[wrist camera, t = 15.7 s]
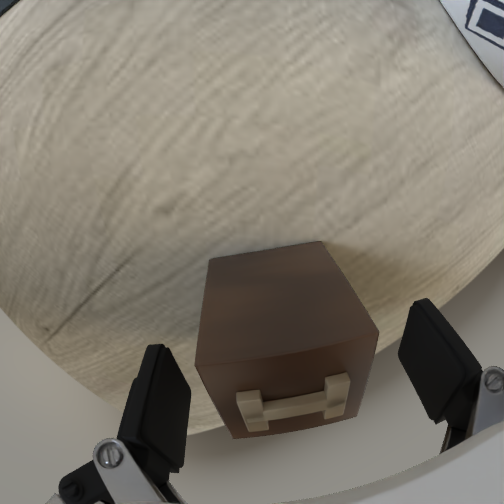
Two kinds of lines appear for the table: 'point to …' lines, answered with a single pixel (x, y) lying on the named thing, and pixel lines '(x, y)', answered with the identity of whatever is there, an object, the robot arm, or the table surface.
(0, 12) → the word mat
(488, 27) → the planter
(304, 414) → the block
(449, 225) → the table surface
